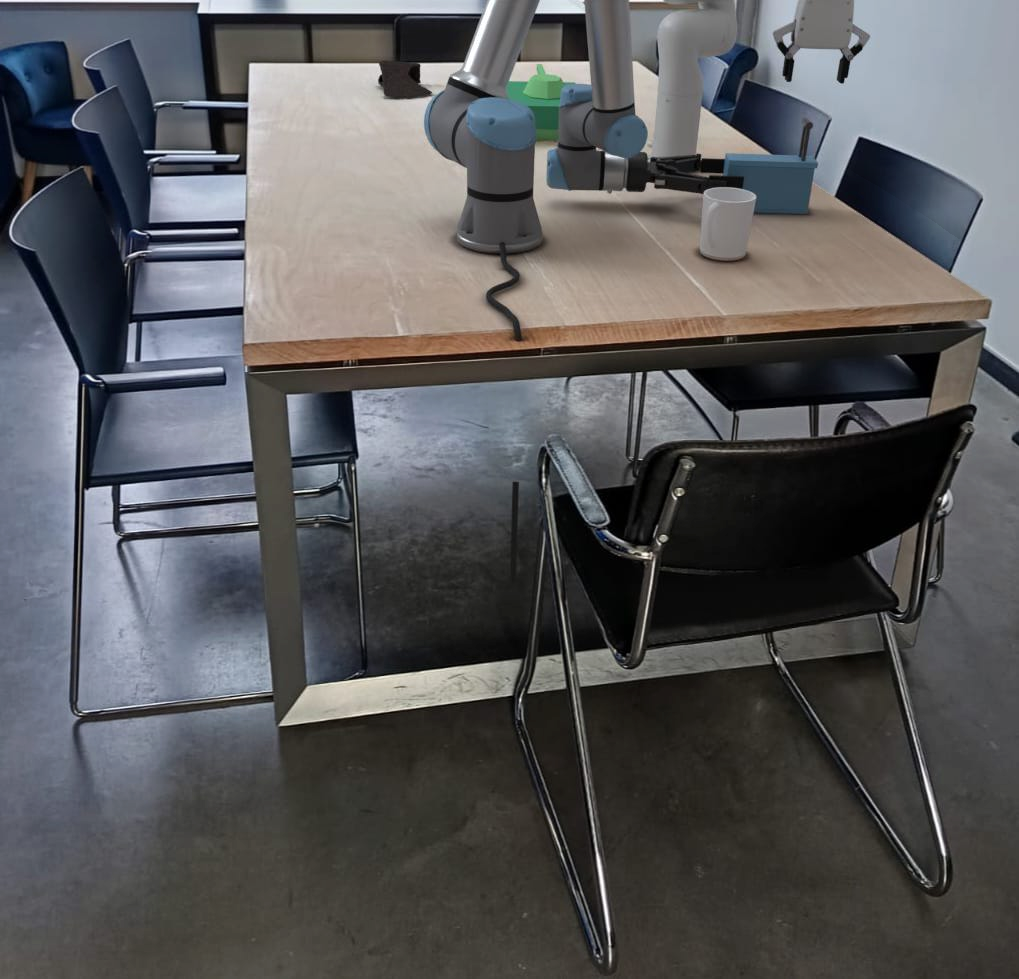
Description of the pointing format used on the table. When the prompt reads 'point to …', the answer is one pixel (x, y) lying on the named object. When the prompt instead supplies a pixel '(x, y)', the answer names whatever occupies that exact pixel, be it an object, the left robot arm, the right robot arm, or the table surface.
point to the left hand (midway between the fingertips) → (738, 175)
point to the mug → (726, 222)
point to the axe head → (401, 79)
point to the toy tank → (540, 101)
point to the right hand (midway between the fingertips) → (813, 81)
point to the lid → (778, 160)
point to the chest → (776, 187)
